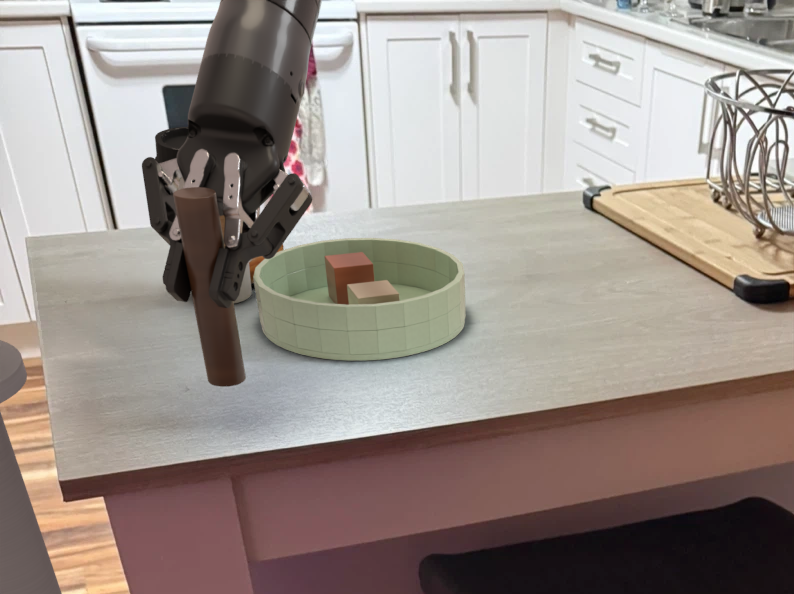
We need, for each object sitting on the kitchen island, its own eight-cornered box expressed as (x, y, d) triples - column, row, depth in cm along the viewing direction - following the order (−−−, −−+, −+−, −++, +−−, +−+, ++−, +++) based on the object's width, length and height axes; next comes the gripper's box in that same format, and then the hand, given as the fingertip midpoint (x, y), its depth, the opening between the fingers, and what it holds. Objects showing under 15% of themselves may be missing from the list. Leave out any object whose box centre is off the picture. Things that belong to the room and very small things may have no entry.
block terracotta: (338, 309, 105) (333, 267, 103) (328, 296, 108) (324, 255, 106) (376, 304, 107) (373, 263, 104) (366, 291, 109) (362, 251, 107)
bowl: (285, 373, 95) (277, 317, 91) (244, 299, 109) (236, 249, 105) (493, 344, 101) (493, 291, 97) (429, 278, 115) (427, 230, 111)
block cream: (361, 340, 99) (357, 298, 97) (350, 326, 102) (346, 284, 99) (402, 335, 100) (399, 293, 98) (390, 321, 103) (387, 279, 101)
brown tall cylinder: (211, 389, 83) (175, 199, 74) (205, 374, 85) (170, 188, 76) (249, 384, 84) (218, 196, 75) (242, 370, 86) (211, 185, 77)
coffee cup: (235, 276, 114) (210, 121, 104) (279, 296, 109) (257, 136, 100) (166, 293, 109) (132, 133, 99) (208, 315, 105) (178, 150, 95)
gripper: (142, 41, 77) (86, 262, 76) (316, 56, 74) (259, 286, 73) (194, 109, 85) (142, 312, 84) (353, 125, 82) (302, 335, 81)
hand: (198, 298), depth 79 cm, fingers closed on brown tall cylinder, 3 cm apart
